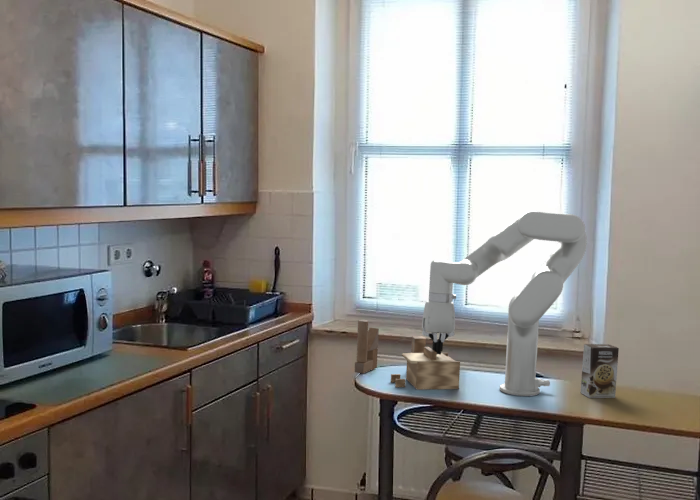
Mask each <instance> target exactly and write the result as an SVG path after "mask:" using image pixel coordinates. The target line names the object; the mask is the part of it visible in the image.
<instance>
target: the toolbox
mask: <svg viewBox="0 0 700 500" xmlns="http://www.w3.org/2000/svg"><path fill="white" fill-rule="evenodd" d="M442 353H443V354H444V355H445V356H447V357H448V358H450V359H451V360H452V361H420V362H417V363H410V362H409V361H408V360H406V371H405V372H406V373H405V374H406V376H405V378H402V377H401V376H402V375H401V373H391V374H390V382H391V383H394V384H395V385H394V387H395V388H406V381H408V383H410V385H412V387H413V388H415V390H459V389H460V373H461V372H460V371H461V361H460V360H459V361H457V360H455V359H453V358H452V357H450V356H449V352H442Z"/></svg>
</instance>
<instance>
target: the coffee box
mask: <svg viewBox="0 0 700 500" xmlns="http://www.w3.org/2000/svg"><path fill="white" fill-rule="evenodd" d="M619 350H620V349H619V347H617V346H614V345H611V344H608V343H607V344H604V343H603V344H601V343H599V344H597V343H593V344H592V343H583V353H582V354H583V356H582V367H581V380H580V393H581V394H582V395H583V396H585V397H587V398H588V399H592V398H593V399H600V398H602V399H605V398H607V399H608V398H609V399H610V398H611V399H614V398H616V391H617V379H618V377H617V376H618V367H619V366H618V364H619V362H618V361H619Z"/></svg>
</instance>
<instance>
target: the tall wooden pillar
mask: <svg viewBox="0 0 700 500" xmlns="http://www.w3.org/2000/svg"><path fill="white" fill-rule="evenodd" d="M426 344H427V338H426V336H424V335H422V336H421V335H417V336H416V335H412V336H411V349H410V353H424V347H427V345H426Z"/></svg>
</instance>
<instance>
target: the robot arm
mask: <svg viewBox="0 0 700 500" xmlns="http://www.w3.org/2000/svg"><path fill="white" fill-rule="evenodd" d="M586 233H587V232H586V225H585V222H584V221H583V219H582V217H580V216H578V215H577V214H573V213H567V214H565V213H564V214H563V213H552V212H543V211H537V210H527V211H525V212H523V213H522V214H520V215H519V216H518V217H517V218H515V219H514V220H512V221H511V222H509V224H507V225H506V226H504V227H503V228H502V229H500V230H498V232H496V233H495V234H493V235H492V236H491V237H489V238H488V239H487V240H486V241H485V242H484V243H483V244H482V245H480V246H479V247H478V248H477V249H475V250H474V251H473V252H471V253H470V254H469V255H467V256H466V257H464V258H462V260H461V261H459V262H453V261H451V260H448V259H447V260H446V259H434V260H432V261H431V262H430V265H429V266H430V269H429V287H428V288H429V289H428V300H426V301H425V303H424V308H423V313H422V321H421V328H422V331H421V335H422V336H423V337H427V338H429V339H430V340H431V341H432V345H431V346H432V347H431V349H432V350H434V351H435V352H437V354H441V353H442V352H443V349H444V347H443V346H444V345H443V344H444V343H445V340H447V339H448V338H451V337H454V336H455V327H456V314H455V313H456V312H455V304H454V302H453V300H456V299H457V294H453V287H454V286H453V285H454V284H456V285H460V286H469V285H471V284H473V283H474V282H475V281H476V279H477V278H478V277H479V276H481V275H482V274H483V273H485V272H486V271H488V270H490V269H491V268H492V267H494V266H495V265H496V264H498V263H500V262H502V261H505V260H506V259H508V258H510V257H511V256H512V257H513V255H514V254H515V253H518V251H520V250H522V248H524V247H525V246H527V245H528V244H529V243H531V242H532V241H533V240H539V241H549V242H558V243H557V245H556V248H555V249H554V250H553V252H552V253H551V254H550V255H549V257H548V258H547V259H546V260H545V261H544V263H543V264H541V266H540V267H539V268H538V269H537V270H536V271H535V272H534V273H533V275H532V277H531V279H530V281H529V282H528V283H527V284H526V285H525V287H524V288H523V289H522V291H521V292H520V293H517V294H515V295H514V296H513V297H512V298H511V299H510V301H509V304H508V309H507V311H508V315H507V317H508V318H507V319H508V320H507V334H506V335H507V337H506V338H507V340H506V353H505V354H506V355H505V356H506V357H505V372H504V374H505V375H504V383H502V384H500V385H499V390H500V391H501V393H504V394H508V395H512V396H520V397H535V396H538V395H539V394H540V392H541V389H540V388H541V387H542V386H543V387H550V385H551V382H550V379H542V378H537V377H536V375H537V361H538V360H537V358H538V345H539V344H538V343H539V325H540V322H539V321H540V320H541V318H543V316H544V315H545V313H546V312H548V310H549V309H550V308H551V307H552V306H553V305H554V303H555V302H556V301H557V300H558V298H559V297H560V295H561V294H562V292H563V289H564V284H565V282H566V281H567V279H569V277H570V276H571V275H572V273H573V272H574V271H575V269H576V268H578V266H579V264H580V263H581V262H582V260H583V258H584V256H585V254H586V250H587V244H588V241H587V240H588V239H587V234H586ZM438 334H439V335H438Z"/></svg>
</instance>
